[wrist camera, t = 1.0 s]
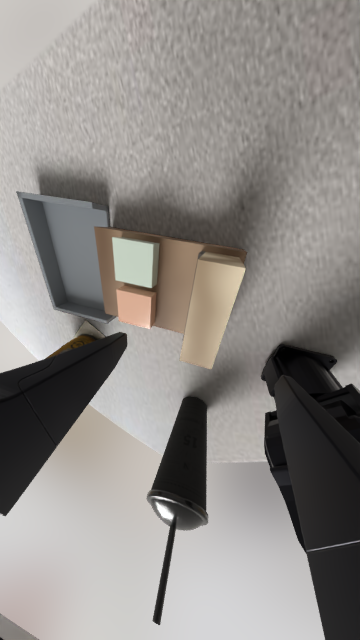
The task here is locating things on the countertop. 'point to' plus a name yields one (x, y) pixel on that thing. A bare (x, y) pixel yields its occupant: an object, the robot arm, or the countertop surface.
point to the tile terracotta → (136, 306)
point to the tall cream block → (210, 306)
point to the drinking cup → (181, 482)
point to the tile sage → (136, 261)
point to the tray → (68, 251)
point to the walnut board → (172, 273)
